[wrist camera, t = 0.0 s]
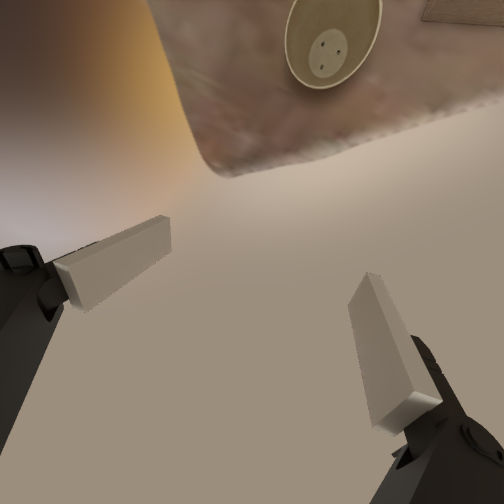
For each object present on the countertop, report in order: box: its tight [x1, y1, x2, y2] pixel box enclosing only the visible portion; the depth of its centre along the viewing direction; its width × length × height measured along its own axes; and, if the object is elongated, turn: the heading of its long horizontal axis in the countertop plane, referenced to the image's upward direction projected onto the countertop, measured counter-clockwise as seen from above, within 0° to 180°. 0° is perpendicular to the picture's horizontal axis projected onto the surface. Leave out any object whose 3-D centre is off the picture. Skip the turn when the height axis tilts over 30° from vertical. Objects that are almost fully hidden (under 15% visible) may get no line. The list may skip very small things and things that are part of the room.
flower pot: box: [284, 0, 382, 90], centre depth 25 cm, size 10×10×7 cm
